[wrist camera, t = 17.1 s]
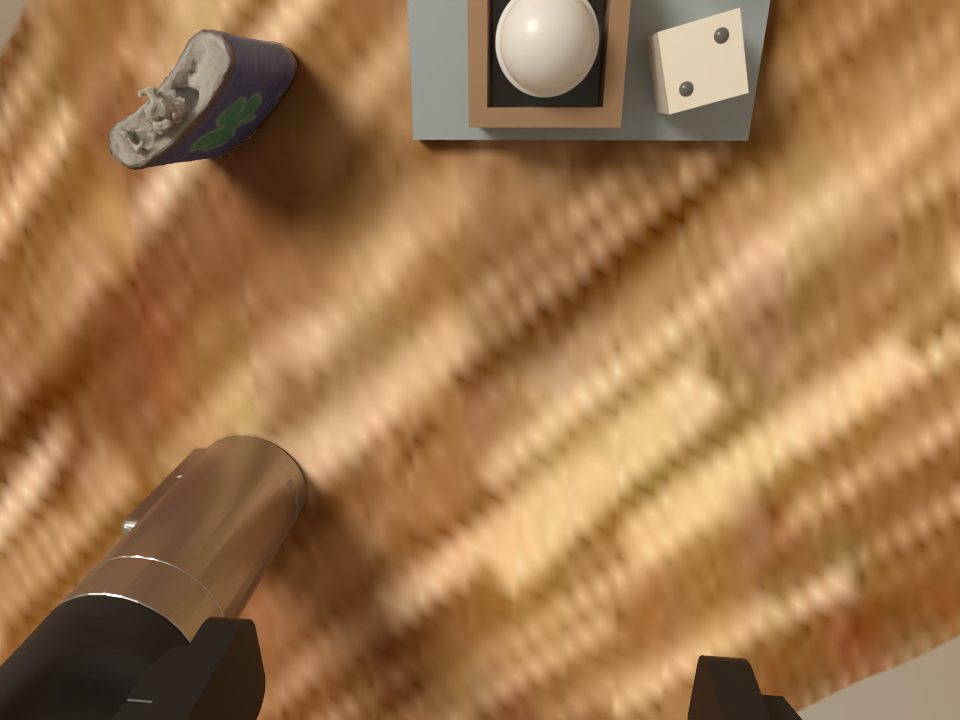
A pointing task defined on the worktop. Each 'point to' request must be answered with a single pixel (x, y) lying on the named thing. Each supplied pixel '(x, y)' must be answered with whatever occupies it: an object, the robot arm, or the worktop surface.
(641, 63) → the board
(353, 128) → the worktop surface
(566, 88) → the white rounded egg-shaped piece
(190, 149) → the navy rounded piece
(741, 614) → the worktop surface
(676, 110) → the die
